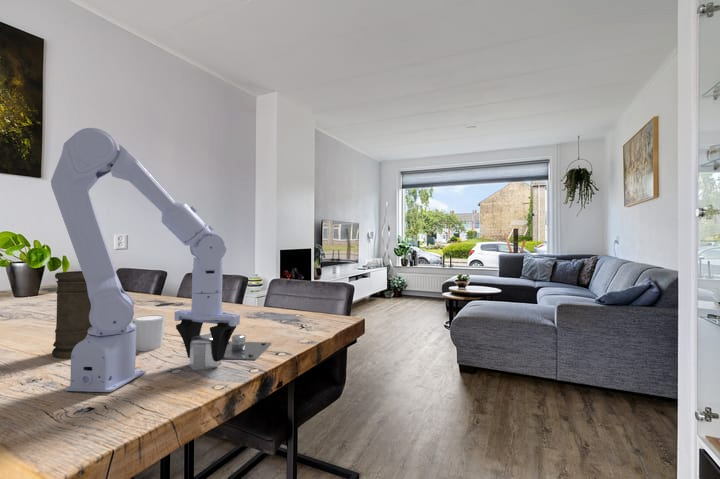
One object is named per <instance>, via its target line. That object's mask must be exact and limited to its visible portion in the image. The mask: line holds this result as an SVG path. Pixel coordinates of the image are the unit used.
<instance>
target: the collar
mask: <svg viewBox="0 0 720 479" xmlns="http://www.w3.org/2000/svg"><path fill="white" fill-rule="evenodd" d="M221 364H222V360H220V361H218V362H216V361H214V355H213V339H212V335H211V333H209V334H208V333H207V334H200V335H199V336H195V337H193V338H191V342H190V358H189V368H191V369H192V370H194V371H208V370H211V369H215V368H217V367H219V366H221Z"/></svg>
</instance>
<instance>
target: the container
mask: <svg viewBox="0 0 720 479" xmlns="http://www.w3.org/2000/svg"><path fill="white" fill-rule="evenodd" d="M54 278H55V279H56V284H57V289H56V290H57V291H56V322H55V323H56V324H55V330H54V333H55V339H54V342H53V344H52V346H53V347H54V348H53V349H52V350H51V354H52V356H53V357H54V358H58V359H71V354H72V350H73V348H74V347H75V346H76V345H77V344H78V343H79V342H81V341H83V340H84V339H85V338H86V336H87V334H88V329H89V328H90V327H92V325H91V323H90V321H89V314H90V310H91V302H90V299H89V296H88V290H87V284H86V281H85V278H84V276H83V273H82V270H78V271H77V270H76V271H60V272H56V273H55V274H54Z"/></svg>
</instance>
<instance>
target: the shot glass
mask: <svg viewBox="0 0 720 479" xmlns="http://www.w3.org/2000/svg"><path fill="white" fill-rule="evenodd" d="M131 323H133V324H135V325H136V351H139V352H142V351H143V352H145V351H146V352H147V351H152V350H157V349H159V348H162V347H163V342H164V341H163V340H164V332H165V324H166V316H165V315H157V314H156V315H155V314H152V315H143V316H138V317H133V319H132V321H131Z"/></svg>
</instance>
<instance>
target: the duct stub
mask: <svg viewBox="0 0 720 479" xmlns="http://www.w3.org/2000/svg"><path fill="white" fill-rule="evenodd" d="M246 337H247V336H246V335H245V334H241V333H240V334H232V335H231V341H230V340H229V342H228V345H227V348H226V351H225V355H224V359H223V360H240V361H241V360H243V361H244V360H247V361H249V360H250V361H256V360H257V359H258V358H260V356H261V355H262V354H263V353H265V351H266V350H268V348H269V347H270V346H271V345H272V342H264V341H261V342H260V341H246Z"/></svg>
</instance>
